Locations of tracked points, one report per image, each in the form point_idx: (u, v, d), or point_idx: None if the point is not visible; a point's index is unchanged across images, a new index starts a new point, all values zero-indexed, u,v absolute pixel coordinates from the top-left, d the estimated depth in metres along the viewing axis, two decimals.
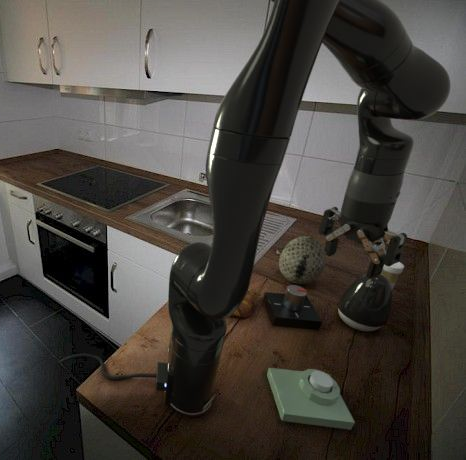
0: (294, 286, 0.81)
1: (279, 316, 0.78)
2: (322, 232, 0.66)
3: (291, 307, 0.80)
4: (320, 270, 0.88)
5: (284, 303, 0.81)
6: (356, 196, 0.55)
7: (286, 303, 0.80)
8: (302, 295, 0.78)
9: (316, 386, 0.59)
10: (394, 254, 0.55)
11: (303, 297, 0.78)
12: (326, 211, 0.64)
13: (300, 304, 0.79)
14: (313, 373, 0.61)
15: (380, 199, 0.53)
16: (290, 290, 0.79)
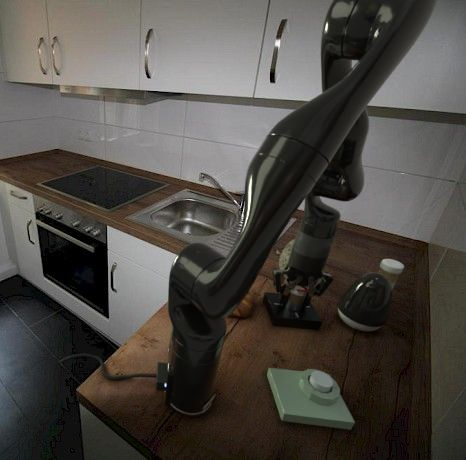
0: None
1: (279, 316, 0.78)
2: (280, 290, 0.79)
3: (291, 307, 0.80)
4: None
5: None
6: (317, 256, 0.70)
7: (286, 303, 0.80)
8: (302, 295, 0.78)
9: (316, 386, 0.59)
10: (326, 288, 0.77)
11: (303, 297, 0.78)
12: (277, 274, 0.77)
13: (300, 304, 0.79)
14: (313, 373, 0.61)
15: None
16: None
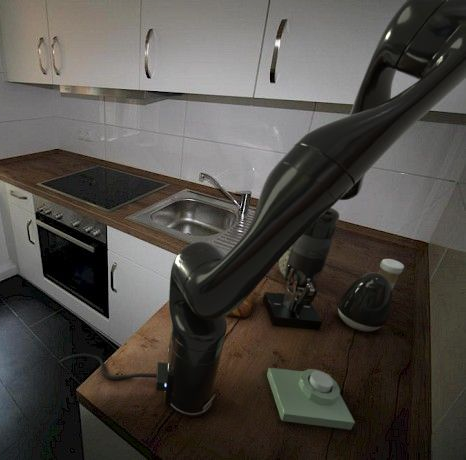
0: (290, 290, 0.79)
1: (279, 316, 0.78)
2: None
3: None
4: None
5: None
6: None
7: None
8: None
9: (316, 386, 0.59)
10: None
11: None
12: (317, 290, 0.72)
13: None
14: (313, 373, 0.61)
15: None
16: None
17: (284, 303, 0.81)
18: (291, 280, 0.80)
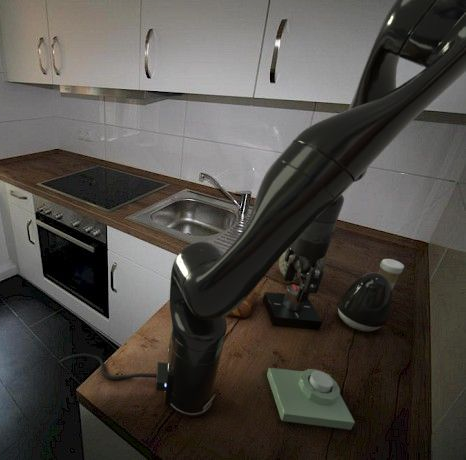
0: (290, 290, 0.79)
1: (279, 316, 0.78)
2: None
3: (302, 305, 0.80)
4: None
5: (297, 309, 0.79)
6: None
7: (300, 306, 0.79)
8: None
9: (316, 386, 0.59)
10: None
11: None
12: None
13: None
14: (313, 373, 0.61)
15: None
16: None
17: (284, 303, 0.81)
18: (292, 264, 0.80)
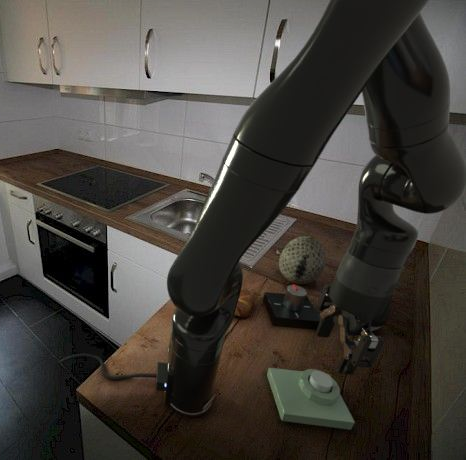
0: (290, 290, 0.79)
1: (279, 316, 0.78)
2: None
3: (302, 305, 0.80)
4: (320, 270, 0.88)
5: (297, 309, 0.79)
6: None
7: (300, 306, 0.79)
8: (303, 289, 0.80)
9: (316, 386, 0.59)
10: None
11: None
12: None
13: None
14: (313, 373, 0.61)
15: None
16: (301, 294, 0.78)
17: (284, 303, 0.81)
18: (329, 316, 0.57)
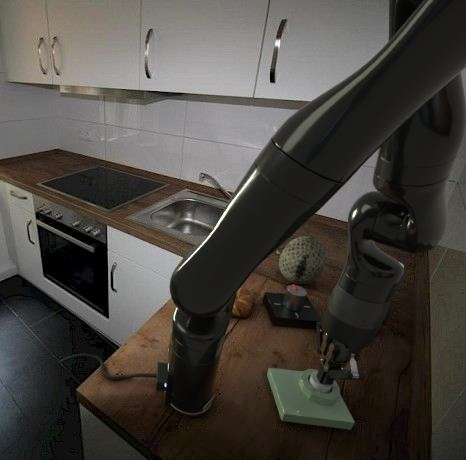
0: (290, 290, 0.79)
1: (279, 316, 0.78)
2: None
3: (302, 305, 0.80)
4: (320, 270, 0.88)
5: (297, 309, 0.79)
6: None
7: (300, 306, 0.79)
8: (303, 289, 0.80)
9: (316, 387, 0.59)
10: None
11: None
12: None
13: None
14: (313, 374, 0.61)
15: None
16: (301, 294, 0.78)
17: (284, 303, 0.81)
18: (327, 352, 0.57)
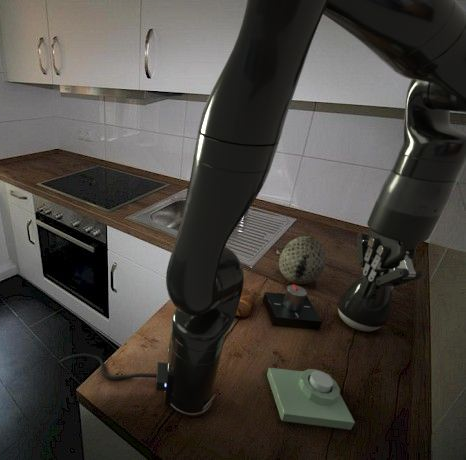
0: (290, 290, 0.79)
1: (279, 316, 0.78)
2: None
3: (302, 305, 0.80)
4: (320, 270, 0.88)
5: (297, 309, 0.79)
6: None
7: (300, 306, 0.79)
8: (303, 289, 0.80)
9: (316, 386, 0.59)
10: None
11: None
12: None
13: None
14: (313, 373, 0.61)
15: None
16: (301, 294, 0.78)
17: (284, 303, 0.81)
18: (372, 260, 0.52)
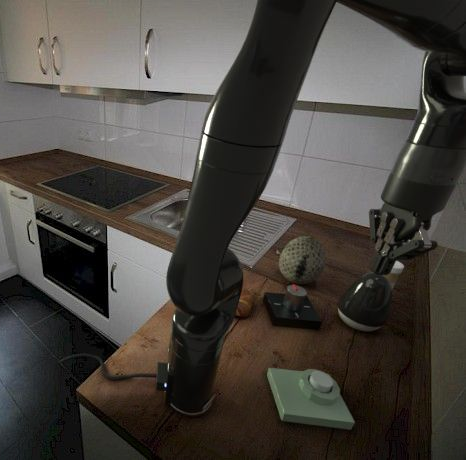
0: (290, 290, 0.79)
1: (279, 316, 0.78)
2: None
3: (302, 305, 0.80)
4: (320, 270, 0.88)
5: (297, 309, 0.79)
6: None
7: (300, 306, 0.79)
8: (303, 289, 0.80)
9: (316, 386, 0.59)
10: None
11: None
12: None
13: None
14: (313, 373, 0.61)
15: None
16: (301, 294, 0.78)
17: (284, 303, 0.81)
18: (385, 235, 0.51)
